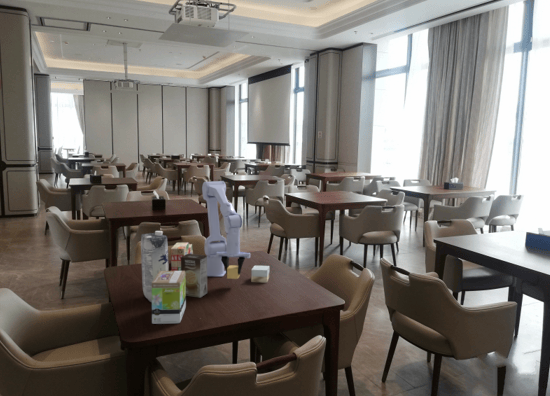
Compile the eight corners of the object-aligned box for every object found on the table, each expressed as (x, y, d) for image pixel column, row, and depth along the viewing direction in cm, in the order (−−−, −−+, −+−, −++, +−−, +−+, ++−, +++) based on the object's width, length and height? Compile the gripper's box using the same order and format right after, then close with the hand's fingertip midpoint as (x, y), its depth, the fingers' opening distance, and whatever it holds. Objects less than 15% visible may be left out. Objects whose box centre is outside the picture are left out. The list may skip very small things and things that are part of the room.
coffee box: (180, 295, 177) (179, 256, 175) (188, 290, 183) (187, 253, 181) (200, 298, 174) (199, 258, 172) (208, 292, 180) (207, 255, 178)
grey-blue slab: (251, 276, 194) (251, 269, 194) (254, 271, 201) (254, 265, 201) (267, 276, 193) (267, 270, 193) (269, 272, 200) (269, 265, 200)
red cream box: (181, 261, 230) (180, 238, 228) (193, 261, 229) (192, 238, 228) (171, 273, 208) (170, 248, 207) (184, 273, 208) (183, 248, 207)
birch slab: (251, 282, 194) (251, 276, 194) (253, 278, 201) (253, 271, 201) (267, 283, 194) (267, 276, 193) (269, 278, 200) (269, 272, 200)
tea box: (181, 323, 149) (180, 281, 147) (151, 324, 148) (149, 282, 147) (186, 307, 164) (185, 269, 162) (159, 308, 163) (158, 270, 161)
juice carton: (148, 303, 168) (146, 235, 164) (141, 296, 176) (138, 230, 173) (171, 299, 172) (169, 232, 169) (162, 292, 181) (160, 228, 178)
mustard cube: (227, 278, 185) (227, 268, 185) (229, 275, 190) (229, 265, 189) (237, 278, 185) (237, 268, 184) (239, 275, 189) (239, 265, 189)
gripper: (214, 244, 182) (214, 275, 184) (248, 245, 181) (248, 277, 182) (218, 240, 189) (218, 271, 191) (251, 241, 188) (251, 272, 189)
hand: (233, 273), depth 187 cm, fingers closed on mustard cube, 4 cm apart
